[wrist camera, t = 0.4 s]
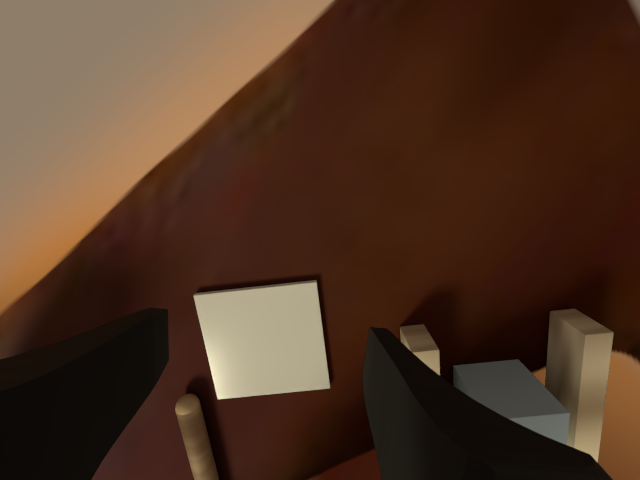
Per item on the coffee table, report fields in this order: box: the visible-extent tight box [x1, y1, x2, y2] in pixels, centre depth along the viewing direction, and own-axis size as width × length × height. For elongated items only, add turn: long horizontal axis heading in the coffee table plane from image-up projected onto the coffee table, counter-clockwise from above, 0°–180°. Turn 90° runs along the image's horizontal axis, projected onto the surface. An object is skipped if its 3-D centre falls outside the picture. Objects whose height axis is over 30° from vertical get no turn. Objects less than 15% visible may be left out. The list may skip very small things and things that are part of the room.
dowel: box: [175, 394, 219, 480], centre depth 24 cm, size 12×2×2 cm, turn 7°
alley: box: [400, 309, 614, 463], centre depth 22 cm, size 11×12×3 cm
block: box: [453, 359, 570, 445], centre depth 21 cm, size 6×4×5 cm
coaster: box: [194, 280, 330, 399], centre depth 22 cm, size 8×8×1 cm
